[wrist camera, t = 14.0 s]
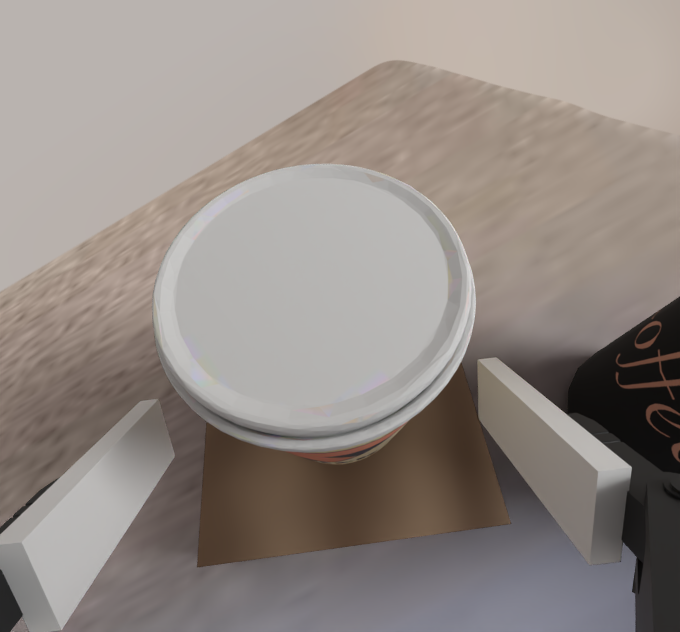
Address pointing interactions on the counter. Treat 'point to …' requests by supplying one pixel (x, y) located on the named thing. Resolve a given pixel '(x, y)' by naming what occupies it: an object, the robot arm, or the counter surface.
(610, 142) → the counter surface
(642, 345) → the coffee jar
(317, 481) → the walnut riser
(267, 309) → the coffee cup
